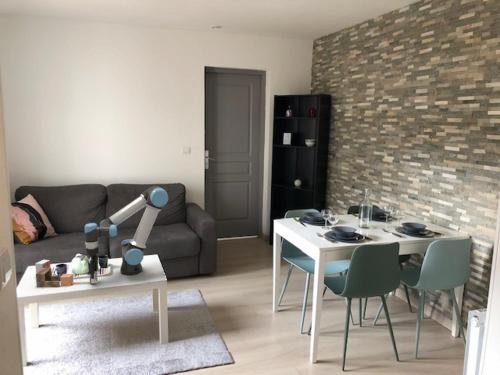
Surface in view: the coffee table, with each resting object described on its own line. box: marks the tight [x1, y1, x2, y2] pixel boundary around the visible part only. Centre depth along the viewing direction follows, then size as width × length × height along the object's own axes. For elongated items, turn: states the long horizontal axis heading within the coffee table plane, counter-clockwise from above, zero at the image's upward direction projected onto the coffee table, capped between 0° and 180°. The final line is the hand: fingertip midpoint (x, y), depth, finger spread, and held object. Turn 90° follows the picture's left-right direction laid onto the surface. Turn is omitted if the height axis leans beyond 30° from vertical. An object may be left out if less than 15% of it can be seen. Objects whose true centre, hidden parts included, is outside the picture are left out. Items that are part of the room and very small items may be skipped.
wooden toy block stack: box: [35, 267, 62, 288], centre depth 269 cm, size 14×11×9 cm
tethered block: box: [60, 271, 96, 287], centre depth 269 cm, size 21×6×10 cm, turn 95°
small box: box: [34, 259, 52, 274], centre depth 282 cm, size 8×6×10 cm
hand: (94, 281), depth 270 cm, fingers closed on tethered block, 3 cm apart
